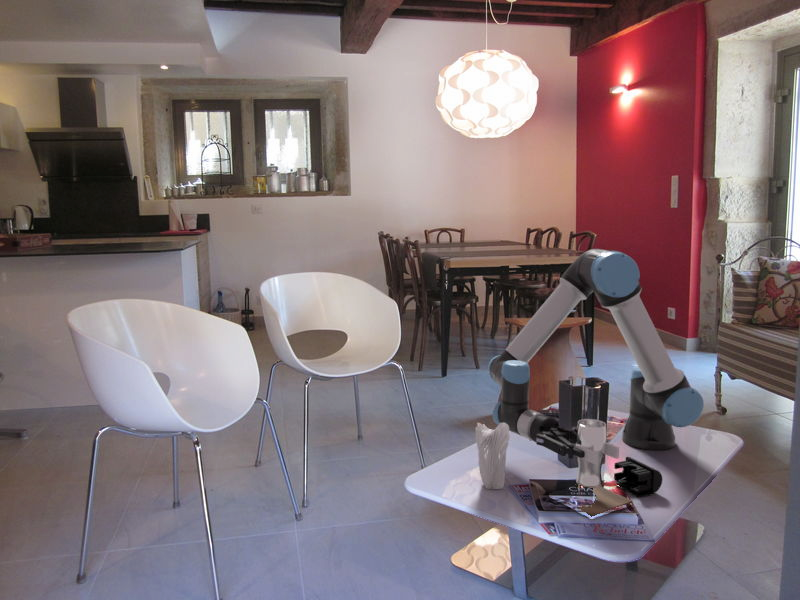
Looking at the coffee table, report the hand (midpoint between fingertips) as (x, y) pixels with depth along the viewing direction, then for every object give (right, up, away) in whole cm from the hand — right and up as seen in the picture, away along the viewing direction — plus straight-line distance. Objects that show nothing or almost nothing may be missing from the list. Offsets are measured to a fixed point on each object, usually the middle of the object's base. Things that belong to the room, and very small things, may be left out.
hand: (607, 455), depth 158 cm
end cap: (+12, -12, +14) cm, 22 cm away
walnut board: (-2, -13, +6) cm, 14 cm away
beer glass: (-3, -8, +5) cm, 10 cm away
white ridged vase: (-25, -12, +14) cm, 31 cm away
